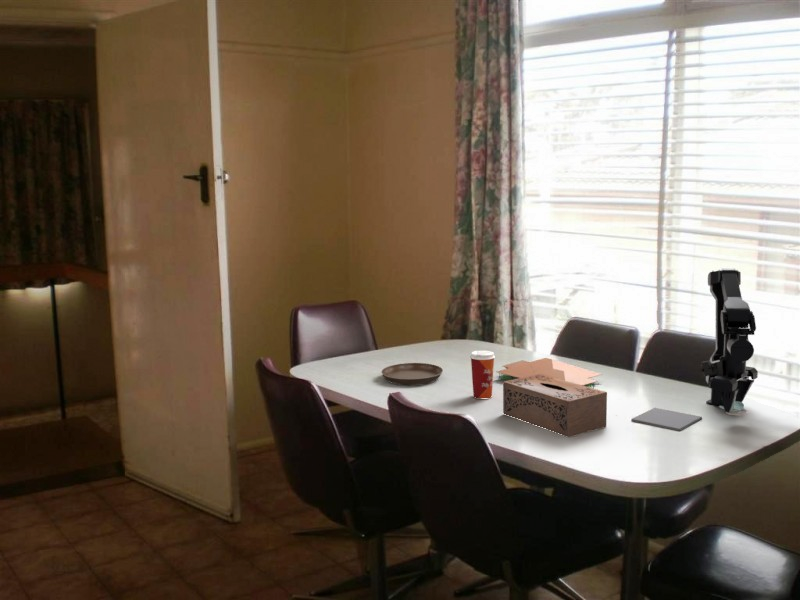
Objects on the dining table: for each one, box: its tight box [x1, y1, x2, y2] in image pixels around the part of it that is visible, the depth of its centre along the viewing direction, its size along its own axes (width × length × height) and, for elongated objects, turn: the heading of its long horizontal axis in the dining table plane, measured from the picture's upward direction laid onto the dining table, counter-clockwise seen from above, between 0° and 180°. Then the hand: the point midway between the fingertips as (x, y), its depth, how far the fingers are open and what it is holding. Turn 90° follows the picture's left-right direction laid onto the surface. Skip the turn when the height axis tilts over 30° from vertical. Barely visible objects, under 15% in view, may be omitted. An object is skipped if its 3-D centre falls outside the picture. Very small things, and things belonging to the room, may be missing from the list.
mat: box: [631, 407, 703, 431], centre depth 236 cm, size 14×14×1 cm
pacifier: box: [718, 397, 748, 416], centre depth 230 cm, size 7×6×6 cm
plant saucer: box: [381, 362, 444, 386], centre depth 286 cm, size 21×21×3 cm
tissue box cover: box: [502, 374, 608, 438], centre depth 237 cm, size 26×14×10 cm, turn 34°
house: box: [496, 357, 603, 389], centre depth 278 cm, size 23×33×8 cm
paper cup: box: [469, 350, 496, 399], centre depth 261 cm, size 8×8×14 cm
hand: (732, 408), depth 231 cm, fingers closed on pacifier, 7 cm apart
